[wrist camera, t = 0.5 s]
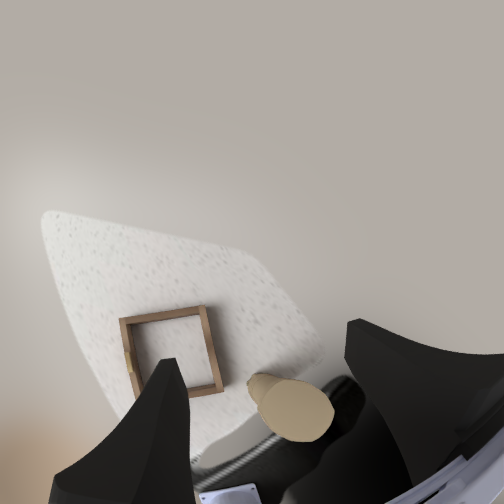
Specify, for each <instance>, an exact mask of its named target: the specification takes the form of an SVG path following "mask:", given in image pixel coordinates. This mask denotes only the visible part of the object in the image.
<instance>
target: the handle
mask: <svg viewBox="0 0 504 504" xmlns="http://www.w3.org/2000/svg"><path fill="white" fill-rule="evenodd" d="M247 386H248V391H249V394H250V396H251V398H252V399H253V400H254V402H255V403H256V404H257V405H258V407H257V410H258V412H259V413H260V415H261V417H262V418H263V420H264V421H265V423H266V424H267V425H268V427H269V428H270V429H271V430H272V431H274V432H275V433H276V434H278V435H280V436H282V437H284V438H286V439H288V440H291V441H299V442H312V441H314V440H316V439H317V438H319V437H320V436H321V435H322V434H324V432H325V431H326V430H327V429H328V427H329V426H330V424H331V422H332V420H333V416H334V409H333V407H332V405H331V403H330V401H329V399H328V398H327V396H326V395H325V394H324V393H323V392H322V391H320V390H319V389H317V388H315V387H314V386H312V385H311V384H309V383H307V382H304V381H300V380H295V379H286V378H278V377H276V376H273V375H270V374H263V373H262V374H253V375H252V377H251V379H250V380H249V381H247Z"/></svg>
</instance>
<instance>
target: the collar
mask: <svg viewBox="0 0 504 504" xmlns="http://www.w3.org/2000/svg"><path fill="white" fill-rule="evenodd" d="M198 314H200V319H201V324H202V329H203V334H204V338H205V343H206V347H207V352H208V356H209V361H210V365H211V369H212V373H213V377H214V381H215V384H210V385H205V386H199V387H194V388H188V389H187V391H188V397H189V398H194V397H200V396H206V395H211V394H216V393H221V392H224V388H223V384H222V380H221V376H220V372H219V367H218V363H217V359H216V355H215V350H214V346H213V341H212V337H211V332H210V327H209V323H208V318H207V313H206V308H205V305H201V306H195V307H189V308H183V309H177V310H171V311H165V312H158V313H152V314H145V315H138V316H131V317H124V318H119V324H120V330H121V336H122V341H123V347H124V352H125V353H124V355H125V360H126V364H127V369H128V373H129V375H130V379H131V383H132V387H133V391H134V395H135V399H136V400H137V398H138V397H139V395H140V394H141V392H142V390H143V389H144V387H143V383H142V379H141V375H140V370H139V366H138V361H137V357H136V352H135V347H134V341H133V336H132V330H131V325H135V324H142V323H148V322H155V321H162V320H168V319H174V318H180V317H186V316H192V315H198Z"/></svg>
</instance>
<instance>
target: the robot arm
mask: <svg viewBox="0 0 504 504" xmlns="http://www.w3.org/2000/svg"><path fill="white" fill-rule="evenodd" d="M344 358H345V360H346V362H347V364H348V366H349V368H350V370H351V372H352V374H353V375H354V377H355V378H356V380H357V381H358V382H359V384H360V385H361V387H362V388H363V389H364V391H365V392H366V393H367V395H368V396H369V397H370V399H371V400H372V401H373V403H374V404H375V406H376V407H377V408H378V410H379V411H380V413H381V414H382V416H383V417H384V419H385V421H386V423H387V425H388V427H389V429H390V430H391V432H392V434H393V436H394V438H395V440H396V442H397V445H398V447H399V449H400V451H401V454H402V456H403V458H404V461H405V464H406V466H407V469H408V472H409V475H410V478H411V481H412V485H413V486H414V488H412V489H411V490H409V491H407V492H406V493H404V494H402V495H400V496H398V497H397V498H395V499H393V500H391V501H389V502H387V503H385V504H418V503H419V502H421V501H422V500H424V499H425V498H427V497H428V496H430V495H431V494H433V493H434V492H436V491H437V490H438V489H440V490H439V493H438V494H437V495H436V496H434V497H433V498H431V499H430V500H429V501H427V502H426V503H425V504H490V503H492V501H493V500H494V499H495V498H496V497H497V496H498V494H500V492H501V491H502V490H503V489H504V354H489V355H482V354H480V355H479V354H466V353H458V352H452V351H447V350H442V349H438V348H434V347H430V346H427V345H424V344H420V343H418V342H415V341H412V340H409V339H407V338H404V337H402V336H400V335H397V334H395V333H392V332H390V331H388V330H386V329H383V328H381V327H379V326H377V325H374V324H372V323H370V322H368V321H365V320H363V319H360V318H359V319H356V320H352V321H349V322H348V323H347V335H346V346H345V357H344ZM251 488H254V489H251ZM199 497H200V499H201V502H202V504H261V501H260V498H259V495H258V492H257V489H256V486H255V484H254V483H250V484H245V485H241V486H236V487H232V488H227V489H221V490H215V491H209V492H202V493H200V494H199ZM203 497H205V498H203ZM48 504H196V501H195V496H194V490H193V484H192V477H191V470H190V406H189V397H188V391H187V388H186V386H185V383H184V380H183V378H182V375H181V372H180V370H179V367H178V364H177V361H176V358H169V359H161V360H160V361H159V363H158V365H157V366H156V368H155V370H154V372H153V373H152V375H151V377H150V379H149V380H148V382H147V384H146V385H145V387H144V389H143V390H142V392H141V394H140V395H139V397H138V398H137V400H136V401H135V403H134V404H133V406H132V407H131V408H130V410H129V411H128V413H127V414H126V415H125V417H124V418H123V419H122V420H121V422H120V423H119V424H118V425H117V426H116V428H115V429H114V430H113V431H112V432H111V433H110V434H109V435H108V436H107V437H106V438H105V439H104V440H103V441H102V442H101V443H100V444H99V445H98V446H96V447H95V448H94V449H93V450H92V451H91V452H89V453H88V454H87V455H85V456H84V457H83V458H82V459H80V460H79V461H77V462H76V463H74V464H73V465H71V466H70V467H68V468H66V469H64V470H63V471H61V472H59V473H58V474H56V475H55V476H54V480H53V484H52V489H51V493H50V498H49V502H48Z"/></svg>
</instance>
